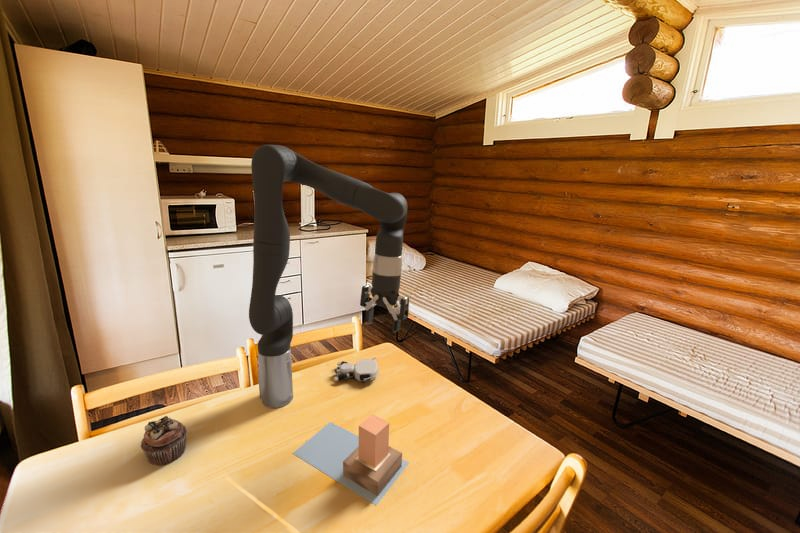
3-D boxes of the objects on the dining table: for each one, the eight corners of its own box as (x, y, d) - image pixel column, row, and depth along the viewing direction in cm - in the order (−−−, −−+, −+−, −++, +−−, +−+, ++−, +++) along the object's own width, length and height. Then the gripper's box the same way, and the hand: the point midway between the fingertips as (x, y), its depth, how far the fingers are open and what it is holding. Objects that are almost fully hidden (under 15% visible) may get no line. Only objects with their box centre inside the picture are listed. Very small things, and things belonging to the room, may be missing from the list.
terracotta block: (358, 457, 85) (358, 425, 83) (371, 445, 89) (372, 414, 87) (375, 468, 82) (375, 435, 80) (388, 454, 86) (389, 422, 84)
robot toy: (333, 388, 120) (378, 386, 121) (331, 376, 119) (377, 374, 119) (338, 368, 132) (379, 366, 132) (337, 357, 131) (378, 355, 131)
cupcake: (197, 448, 92) (193, 415, 90) (158, 475, 84) (151, 439, 81) (175, 434, 97) (170, 402, 94) (135, 458, 88) (128, 424, 86)
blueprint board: (292, 455, 91) (292, 453, 91) (330, 423, 103) (330, 421, 103) (376, 507, 78) (376, 505, 78) (409, 464, 90) (409, 462, 90)
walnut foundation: (343, 475, 85) (343, 460, 84) (368, 448, 93) (368, 435, 92) (377, 496, 80) (378, 481, 79) (401, 466, 88) (402, 452, 87)
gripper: (356, 267, 95) (353, 323, 100) (402, 280, 88) (396, 339, 93) (373, 262, 101) (369, 315, 106) (417, 273, 95) (411, 330, 99)
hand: (382, 326), depth 99 cm, fingers open, 8 cm apart
